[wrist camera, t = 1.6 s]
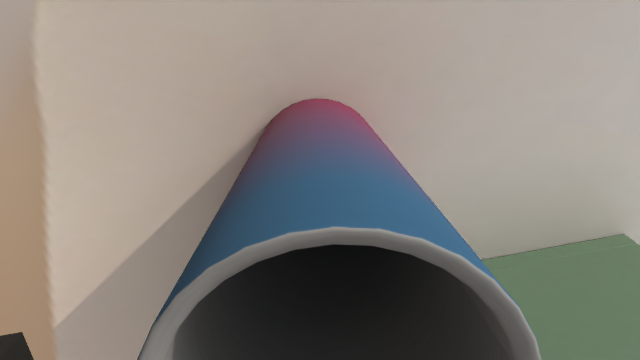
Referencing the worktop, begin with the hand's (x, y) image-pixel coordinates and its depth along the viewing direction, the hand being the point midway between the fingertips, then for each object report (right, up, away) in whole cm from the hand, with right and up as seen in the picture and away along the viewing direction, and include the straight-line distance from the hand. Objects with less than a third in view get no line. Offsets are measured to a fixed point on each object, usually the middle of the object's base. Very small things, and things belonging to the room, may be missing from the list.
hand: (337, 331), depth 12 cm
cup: (0, +4, +12) cm, 13 cm away
